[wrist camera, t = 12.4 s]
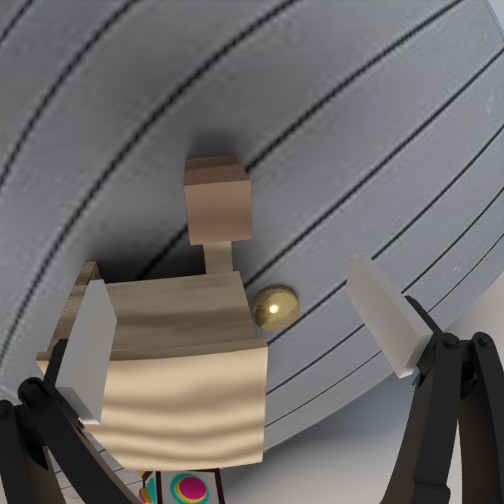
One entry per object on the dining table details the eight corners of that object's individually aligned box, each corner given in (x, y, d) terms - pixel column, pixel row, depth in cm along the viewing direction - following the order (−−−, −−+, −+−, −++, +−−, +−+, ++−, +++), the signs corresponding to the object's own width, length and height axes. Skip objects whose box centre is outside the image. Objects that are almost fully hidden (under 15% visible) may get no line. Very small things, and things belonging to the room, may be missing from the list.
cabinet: (80, 258, 33) (35, 360, 19) (243, 242, 35) (277, 345, 22) (131, 385, 45) (127, 470, 32) (246, 375, 48) (267, 460, 35)
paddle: (185, 159, 30) (183, 186, 22) (235, 155, 30) (250, 180, 23) (209, 347, 43) (215, 397, 36) (242, 343, 44) (254, 392, 36)
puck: (243, 299, 40) (246, 311, 38) (283, 276, 39) (288, 287, 37) (264, 325, 43) (268, 337, 41) (301, 305, 42) (306, 316, 40)
